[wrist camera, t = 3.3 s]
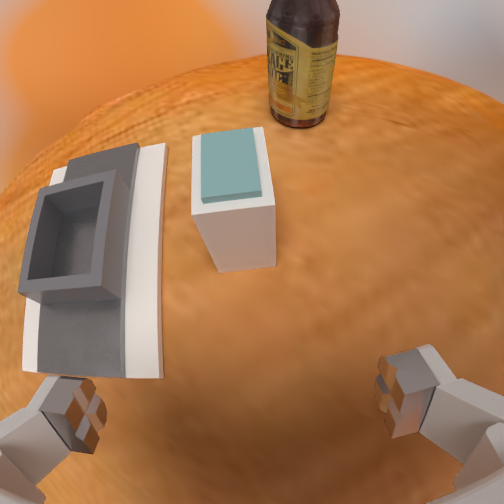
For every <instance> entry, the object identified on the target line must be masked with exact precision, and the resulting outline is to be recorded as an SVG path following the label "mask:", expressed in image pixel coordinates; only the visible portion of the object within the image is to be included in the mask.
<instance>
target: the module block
mask: <svg viewBox="0 0 504 504" xmlns="http://www.w3.org/2000/svg"><path fill="white" fill-rule="evenodd" d="M192 217H193V219H194V222H195V224H196V226H197V228H198V230H199V232H200V234H201V236H202V239H203V241H204V243H205V245H206V247H207V249H208V251H209V253H210V255H211V258H212V260H213V262H214V264H215V266H216V268H217V270H218V272H219V273H225V272H234V271H243V270H252V269H261V268H269V267H276V211H275V199H274V193H273V186H272V180H271V174H270V167H269V161H268V155H267V149H266V143H265V137H264V131H263V127H256V128H245V129H237V130H229V131H222V132H215V133H208V134H201V135H197V136H193V147H192Z"/></svg>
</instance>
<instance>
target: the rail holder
mask: <svg viewBox="0 0 504 504" xmlns="http://www.w3.org/2000/svg"><path fill="white" fill-rule="evenodd" d="M167 156H168V148H167V145H166V143H161V144H156V145H151V146H146V147H142V148H140V146H139V144H138V143H134V144H130V145H125V146H121V147H117V148H113V149H109V150H105V151H101V152H97V153H93V154H89V155H86V156H82V157H79V158H75V159H72V160H69V162H68V166H65V167H62V168H59V169H55V170H54V171H53V175H52V178H51V181H50V185H49V186H48V187H44V188H41V189H40V190H39V193H38V197H37V200H36V204H35V208H34V211H33V215H32V219H31V223H30V228H29V232H28V237H27V241H26V246H25V251H24V256H23V262H22V268H21V274H20V280H19V287H18V293H19V294H21V295H23V296H25V297H27V300H26V310H25V321H24V335H23V359H22V371H26V372H33V373H43V374H53V375H65V376H78V377H96V378H127V379H164V372H163V349H162V303H161V283H162V236H163V213H164V196H165V181H166V168H167Z"/></svg>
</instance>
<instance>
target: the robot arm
mask: <svg viewBox="0 0 504 504" xmlns="http://www.w3.org/2000/svg"><path fill="white" fill-rule="evenodd" d="M378 369H379V371H380V374H379V376H378V377H377V378H376V381H375V397H376V401H377V405H378V407H379V410H381V411H383V412H384V413H386V416H385V420H384V422H385V424H386V427H387V429H388V432H389V434H390V437H391V439H392V438H396V437H400V436H404V435H408V434H411V433H415V432H418V431H420V432H419V433H420V434H422V435H423V436H424V437H426V438H427V439H429V440H430V441H431V442H433V443H434V444H436V445H437V446H438V447H440V448H441V449H443V450H444V451H445V452H447V453H448V454H450V455H451V456H452V457H454V458H455V459H457V460H458V461H460V462H461V463H462V464H464V465H463V467H462V468H461V469H460V471H459V472H458V474H457V475H456V476H455V478H454V480H453V484H454V486H455V488H456V491H454V492H452V493H450V494H448V495H445V496H443V497H440V498H438V499H435V500H433V501H430V502H428V503H425V504H504V396H502V395H499V394H497V393H495V392H492V391H490V390H488V389H485V388H483V387H481V386H479V385H476V384H474V383H472V382H470V381H467V380H465V379H463V378H460V379H457V378H456V377H455V375H454V374H453V372H452V371H451V370H450V368H449V367H448V366H447V364H446V363H445V361H444V360H443V359H442V357H441V356H440V355H439V353H438V352H437V351H436V349H435V348H434V347H433V345H431V344H427V345H423V346H419V347H415V348H413V349H408V350H404V351H400V352H396V353H391V354H387V355H382V356H381V357H380V359H379V362H378ZM95 391H96V387H95V385H94V384H93V382H92V380H90V379H87V378H77V377H67V376H55V375H49V376H47V377H46V378H45V380H44V381H43V383H42V384H41V386H40V387H39V389H38V390H37V392H36V393H35V395H34V396H33V398H32V399H31V401H30V403H29V404H28V406H27V407H26V408H21V409H20V410H18V411H17V412H15V413H13V414H12V415H10V416H8V417H7V418H5V419H4V420H2V421H0V504H44V501H45V499H46V497H45V494H44V493H43V492H42V491H41V490H40V489H38V488H37V487H36V485H37V484H38V483H39V482H40V481H41V480H42V479H43V478H44V477H45V476H46V475H48V474H49V473H50V472H51V471H52V470H53V469H54V468H55V467H56V466H57V465H58V464H59V463H60V462H61V461H62V460H64V459H65V458H66V457H67V456H68V455H69V454H70V453H71V451H75V452H81V453H88V454H94V451H95V449H96V446H97V444H98V441H99V439H100V438H99V435H98V431H100V430H101V429H102V428H104V426H105V423H106V420H107V410H106V406H105V403H104V402H103V400H102V398H100V397H99V396H98V395H97V394H95Z"/></svg>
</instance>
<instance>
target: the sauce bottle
mask: <svg viewBox="0 0 504 504" xmlns="http://www.w3.org/2000/svg"><path fill="white" fill-rule="evenodd" d="M339 17H340V10H339V7H338V5H337V2H336V0H272V1H271V4H270V6H269V10H268V13H267V15H266V25H267V57H268V83H269V102H270V105H271V111H272V114H273V115H274V116H275V118H276V119H277V120H279V121H280V122H282V123H283V124H285V125H287V126H290V127H303V128H304V127H310V126H313V125H316V124H317V123H319V122H320V121H321V120H323V119H324V117H325V115H326V110H327V108H328V104H329V98H330V91H331V85H332V78H333V72H334V65H335V58H336V51H337V44H338V25H339Z"/></svg>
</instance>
